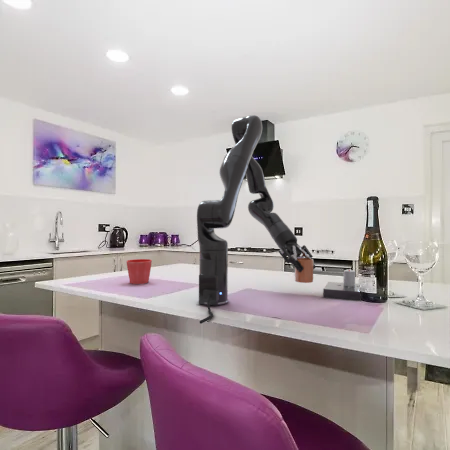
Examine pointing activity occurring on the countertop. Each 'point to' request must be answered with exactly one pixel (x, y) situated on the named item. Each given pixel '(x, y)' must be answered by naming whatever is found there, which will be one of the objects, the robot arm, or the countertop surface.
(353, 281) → the stove knob
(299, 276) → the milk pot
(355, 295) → the stove
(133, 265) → the flower pot
